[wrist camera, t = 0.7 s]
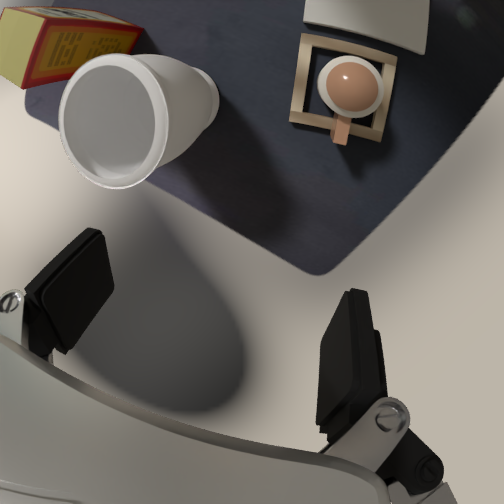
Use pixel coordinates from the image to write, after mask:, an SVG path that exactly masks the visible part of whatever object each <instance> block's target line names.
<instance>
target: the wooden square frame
mask: <svg viewBox="0 0 504 504" xmlns="http://www.w3.org/2000/svg"><path fill="white" fill-rule="evenodd" d="M312 46H313V47H318V48H323V49H328V50H333V51H337V52H342V53H346V54H350V55H354V56H358V57H362V58H365V59H369V60H372V61H375V62H379V63H382V64H383V66H382V72H381V78H382V81H383V86H384V95H383V99H382V101H381V104H380V105H379V107H378V108H377V109H376V110H375V111H374V114H373V119H372V124H371V128H370V127H367V126H363V125H359V124H356V123H352V122H351V124H350V128H349V133H348V134H352V135H356V136H359V137H363V138H367V139H370V140H374V141H378V142H381V138H382V134H383V130H384V125H385V121H386V116H387V112H388V107H389V102H390V97H391V92H392V86H393V81H394V75H395V69H396V63H397V57H396V56H394V55H391V54H388V53H384V52H381V51H378V50H375V49H371V48H368V47H364V46H361V45H357V44H353V43H349V42H345V41H341V40H336V39H332V38H327V37H322V36H316V35H311V34H305V33H302V34H301V41H300V48H299V56H298V63H297V70H296V77H295V84H294V90H293V97H292V104H291V111H290V117H289V121H290V122H296V123H301V124H307V125H312V126H317V127H321V128H326V129H331V127H332V122H333V118H331V117H326V116H322V115H317V114H312V113H307V112H302V110H303V104H304V97H305V91H306V84H307V78H308V71H309V64H310V57H311V50H312Z"/></svg>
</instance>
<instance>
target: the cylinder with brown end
mask: <svg viewBox="0 0 504 504" xmlns="http://www.w3.org/2000/svg"><path fill="white" fill-rule="evenodd" d="M317 90H318V93H319V95H320V97H321V99H322V100H323V101H324V102H325V103H326V104H327V105H328V106H329V107H330V108H331V109H332V110H333V111H334V116H333V122H332V127H331V132H330V136H331V139H332V141H333V142H334V143H338V144H342V145H346V143H347V138H348V133H349V128H350V124H351V119H352V118H360V117H364V116H367V115H369V114H371V113H372V112H374V111H375V110H376V109H377V108H378V107H379V105H380V104H381V101H382V99H383V95H384V86H383V81H382V78H381V76H380V74H379V73H378V71H377V70H376V69H375V67H374V66H373V65H371V64H370V63H369V62H367V61H366V60H364V59H362V58H359V57H355V56H341V57H338V58H335V59H333V60H331V61H330V62H329V63H328V64H327V65H326V66H325V67H324V68H323V69H322V70H321V71H320V73H319V75H318V78H317Z"/></svg>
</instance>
